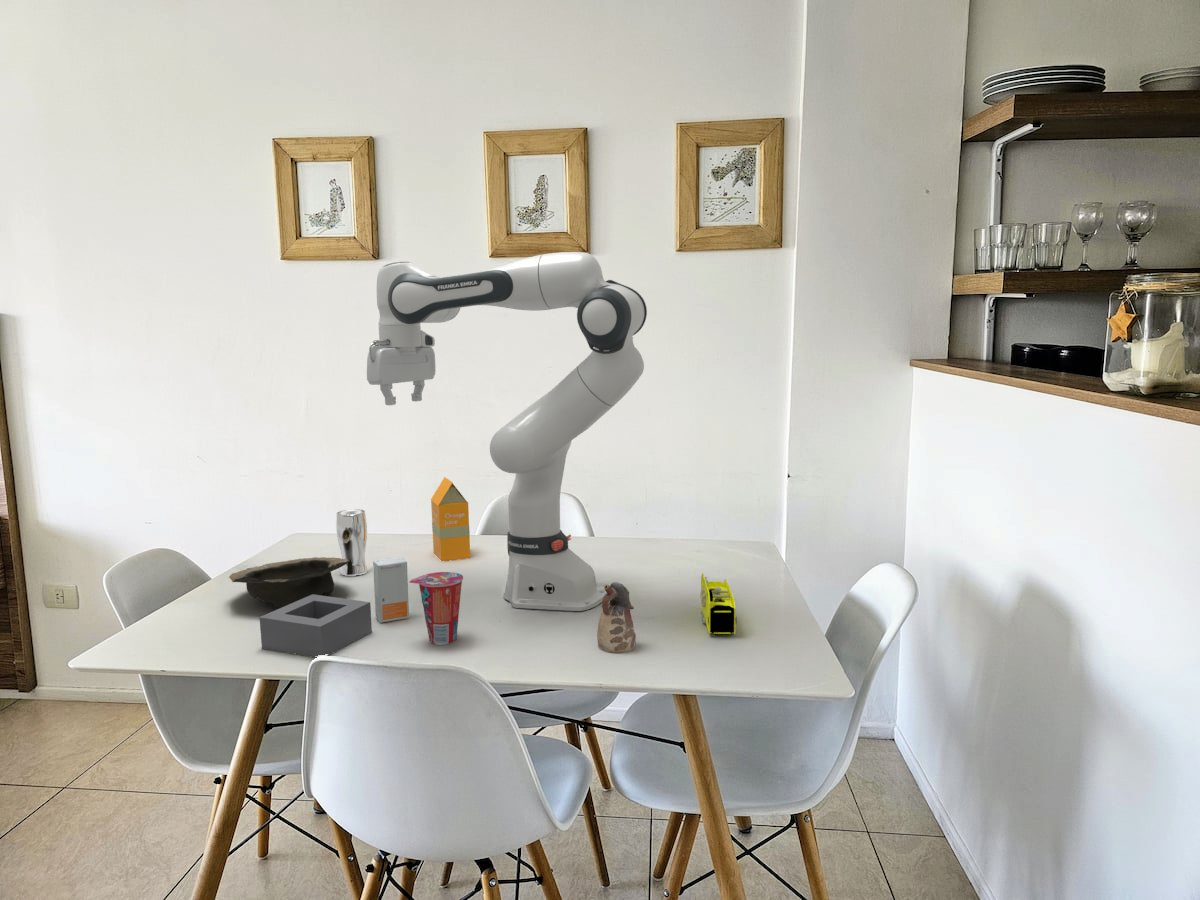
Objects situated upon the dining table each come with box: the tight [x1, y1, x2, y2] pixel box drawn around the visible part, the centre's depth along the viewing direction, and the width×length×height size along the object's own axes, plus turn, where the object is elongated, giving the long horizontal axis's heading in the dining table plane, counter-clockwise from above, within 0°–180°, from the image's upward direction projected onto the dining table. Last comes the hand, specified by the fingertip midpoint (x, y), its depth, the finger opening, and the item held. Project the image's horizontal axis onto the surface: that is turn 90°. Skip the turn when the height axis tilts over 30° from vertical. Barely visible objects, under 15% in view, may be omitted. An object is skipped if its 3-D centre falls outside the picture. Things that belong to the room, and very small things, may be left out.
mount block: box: [259, 594, 373, 658], centre depth 157 cm, size 14×14×6 cm
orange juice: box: [430, 476, 471, 562], centre depth 212 cm, size 8×9×20 cm
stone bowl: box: [228, 556, 350, 611], centre depth 182 cm, size 25×25×9 cm
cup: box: [408, 571, 464, 646], centre depth 155 cm, size 9×8×12 cm
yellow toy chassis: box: [700, 572, 737, 636], centre depth 162 cm, size 16×6×8 cm, turn 178°
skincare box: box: [372, 556, 410, 624], centre depth 168 cm, size 6×4×12 cm
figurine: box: [596, 581, 637, 654], centre depth 151 cm, size 7×7×12 cm
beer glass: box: [336, 508, 368, 577], centre depth 199 cm, size 7×7×15 cm
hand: (404, 403), depth 182 cm, fingers open, 8 cm apart
